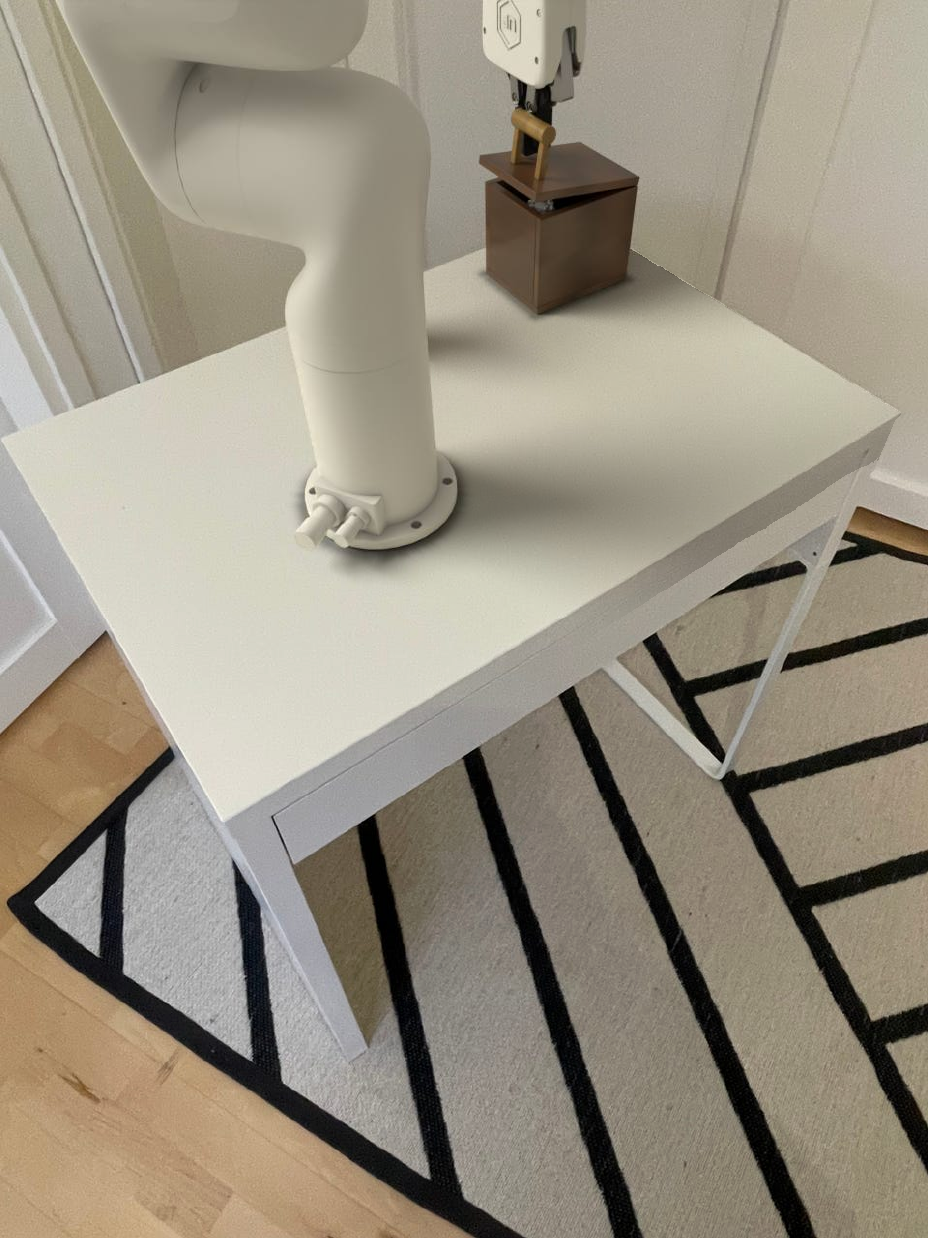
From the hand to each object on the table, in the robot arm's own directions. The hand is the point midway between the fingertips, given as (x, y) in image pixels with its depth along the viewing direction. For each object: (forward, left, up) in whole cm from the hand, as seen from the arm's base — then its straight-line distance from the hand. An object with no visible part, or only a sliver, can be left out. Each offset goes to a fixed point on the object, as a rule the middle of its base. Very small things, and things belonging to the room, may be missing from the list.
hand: (532, 148), depth 84 cm
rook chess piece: (-3, -2, -12) cm, 12 cm away
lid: (-1, -3, -1) cm, 4 cm away
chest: (-1, -3, -12) cm, 13 cm away
